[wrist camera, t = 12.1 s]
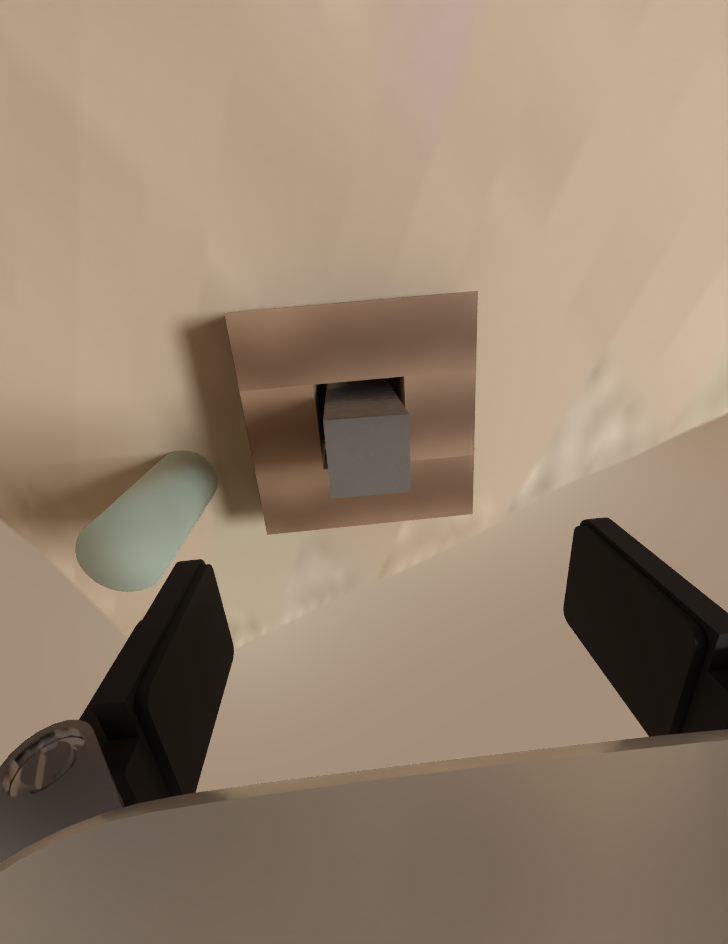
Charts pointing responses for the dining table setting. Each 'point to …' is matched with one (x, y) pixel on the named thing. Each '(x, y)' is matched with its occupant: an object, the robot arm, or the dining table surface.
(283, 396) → the socket block
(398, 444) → the square peg
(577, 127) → the dining table surface
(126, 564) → the round peg
